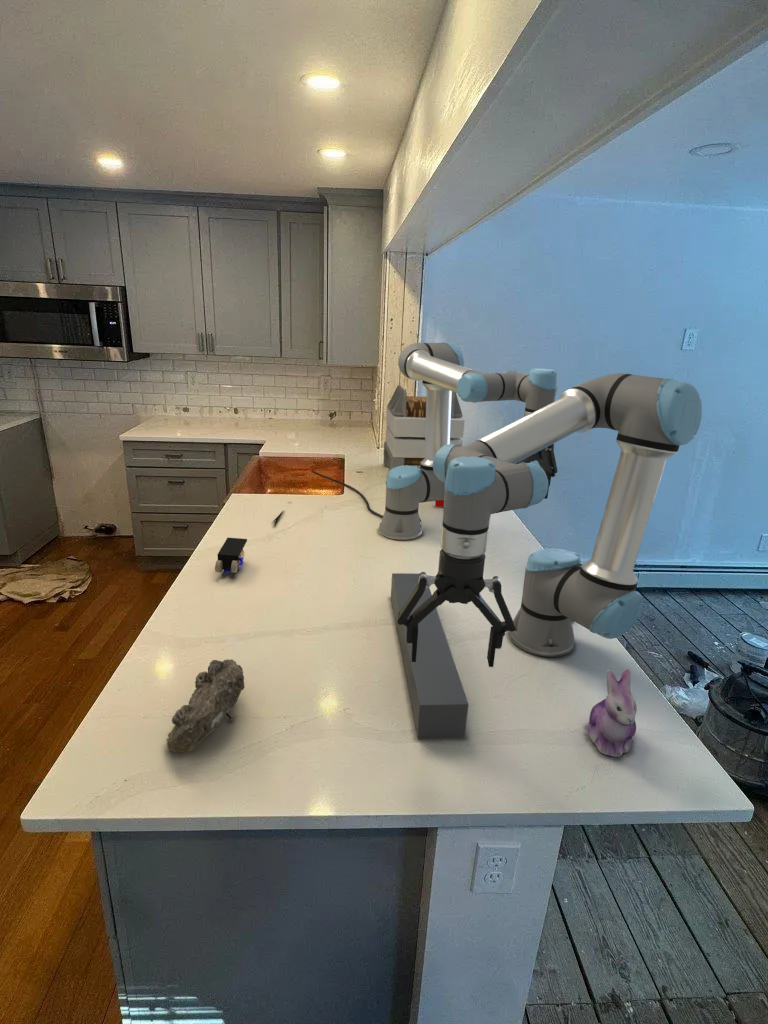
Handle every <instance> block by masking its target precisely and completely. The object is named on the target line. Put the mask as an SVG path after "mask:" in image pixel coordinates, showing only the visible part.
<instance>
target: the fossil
mask: <svg viewBox="0 0 768 1024" xmlns="http://www.w3.org/2000/svg"><path fill="white" fill-rule="evenodd" d="M243 670H244V669H243V667H242V665H240V664H237V662H236V661H235V660H234V659H232V658H231V659H227V658H226V659H224V660H223V661H222V660H217V659H212V660H211V661H210V663H209V665H208V666H207V671H201V672H199V673H198V674H197V675H196V676H195V680H194V684H195V685H194V687H195V689H194V690H193V693H192V694H191V697H190V698H189V700H188V704H184V705H182V706H181V707H180V709H177V710H176V711H175V713H174V715H173V716H172V718H171V723H172V724H173V727H172V730H171V731H170V732H168V734H167V738H166V741H167V742H166V745H167V749H168V750H169V751H173V752H174V753H176V754H178V753H182V752H188V751H189V752H192V751H193V750H195V748H196V747H197V746H199V744H200V743H201V742H203V741H204V740H205V739H206V738H207V737H208V736H209V735H210V734H211V733H212V732H214V730H215V729H217V727H218V726H219V724H220V722H221V721H222V720H223V719H224V718H225V716H226V717H227V719H229V720H233V717H232V715H230V714H229V710H230V709H231V708H234V706H235V704H236V703H237V702H238V699H239V697H240V695H241V693H242V691H243V690H245V689H244V688H245V675H244V671H243Z"/></svg>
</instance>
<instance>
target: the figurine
mask: <svg viewBox="0 0 768 1024" xmlns="http://www.w3.org/2000/svg"><path fill="white" fill-rule="evenodd" d="M605 674H606V690H607V692H606V693H607V695H606V696H605V698H604V699H603V700H601V701H599V702H597V703H596V704H595V705H593V707H592V708H591V710H590V713H589V720H588V725H587V730H588V736H589V738H590V741H591V742H592V743H593V744H594V745H595V746H596V748H597V750H598V751H599V752H600V754H603V755H606V756H609V757H613V758H617V757H618V758H620V757H621V756H622V755H623V754H626V753H629V751H630V749H631V746H632V742H633V737H635V735H636V732H637V723H636V714H637V711H638V707H637V701H636V699H635V697H634V694H633V693H632V690H631V681H632V678H631V677H632V674H631V670H630V669H629V668H625V669H624V670H623V671H622V673H621V676H620V678H619V680H618V679H617V677H616V675H615V674H614V673H613V672H612V670H609V669H608V670H606V673H605Z"/></svg>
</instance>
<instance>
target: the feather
mask: <svg viewBox="0 0 768 1024" xmlns="http://www.w3.org/2000/svg"><path fill="white" fill-rule="evenodd" d="M283 512H284V509H282V511H281V512H280V513H279V514H278V516H276V517H275V518H274V519H273V521H272V522H271V524H273V523H274V527H276V525H277V523H278V522H279V520H280V518H281V516H282V514H283Z"/></svg>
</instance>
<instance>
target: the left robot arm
mask: <svg viewBox="0 0 768 1024" xmlns="http://www.w3.org/2000/svg"><path fill="white" fill-rule="evenodd" d="M397 361H398V364H397V365H398V368H399V371H400V373H401V374H402V375H403V376H404V377H405V378H407V379H410V380H412V381H416V382H421V383H422V384H421V385H422V386H423V387H424V388H425V389H426V393H425V394H426V396H425V397H426V430H425V458H424V460H422V461H421V463H420V466H412V465H409V466H407V465H404V466H398V467H395V468H393V469H391V470H390V469H389V470H388V472H387V475H386V479H385V504H384V505H385V507H384V508H385V509H384V513H383V515H382V514H381V513H378V512H376V511H374V510H373V509H372V508H371V507H370V504H369V502H368V500H367V498H366V497H365V495H364V494H362V492H360V491H359V490H358V489H356V488H355V487H352V486H351V485H350V484H347V483H344V482H342V481H340V480H337V479H335V478H332V477H329V476H327V475H324V474H321V473H319V472H317V471H315V470H311V472H310V473H312V474H314V475H316V476H319V477H322V478H324V479H326V480H329V481H333V482H335V483H337V484H340V485H342V486H345V487H347V488H349V489H351V490H353V491H354V492H356V493H357V494H358V495H359V496H360V497H361V498H362V499H363V501H364V502H365V504H366V507H367V510H368V511H369V512H370V513H372V514H374V515H376V516H378V517H379V518H381V522H379V527H378V533H379V534H380V535H381V536H382V537H385V538H387V539H389V540H395V541H410V540H415V539H418V538H420V537H421V536H422V535H423V525H422V519H421V518H420V515H419V507H420V506H419V505H420V504H421V503H422V504H423V503H428V502H429V503H430V502H435V501H436V500H444V495H445V487H444V486H445V483H444V482H442V481H441V480H439V479H438V478H437V477H436V476H435V474H434V470H433V460H434V457H435V455H436V453H437V451H438V450H439V449H440V448H441V447H443V446H445V445H448V444H450V422H451V396H452V392H455V393H456V395H457V396H458V397H460V400H461V401H463V402H466V403H474V404H475V403H482V402H501V401H502V402H503V401H504V402H505V401H517V402H521V403H525V407H524V412H523V413H524V414H523V417H525V416H527V415H529V414H531V413H533V412H535V411H537V410H539V409H541V408H543V407H545V406H547V405H549V404H551V403H553V402H555V401H556V398H557V392H558V388H559V385H558V384H559V373H558V371H557V370H555V369H551V368H541V367H540V368H539V367H537V368H531V369H530V371H529V374H527V373H522V372H517V371H514V370H513V371H511V370H509V371H508V370H505V371H502V372H481V371H478V370H474V369H472V368H468V367H466V365H465V356H464V354H463V352H462V350H461V348H460V347H459V346H458V345H457V344H455V343H451V342H449V343H448V342H413V343H410V344H408V345H406V347H404V348H403V349H402V350H401V351H400V354H399V356H398V360H397ZM554 449H555V443H554V444H552V445H550V446H548V447H546V448H544V449H542V450H540V451H539V452H537V453H535V454H533V455H531V456H529V457H527V458H525V459H524V460H522V461H520V462H518V463H516V464H519V463H522V462H524V463H534V462H536V461H537V463H538V465H539V466H540V467H541V468H542V469H543V470H544V472H545V473H546V476H547V479H548V490H547V494H546V496H545V498H544V499H545V500H546V499H547V500H548V498H549V497H548V496H549V490H550V486H551V481H552V478H554V477H556V474H557V473H558V467H557V461H556V456H555V451H554ZM544 499H543V500H544Z"/></svg>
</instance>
